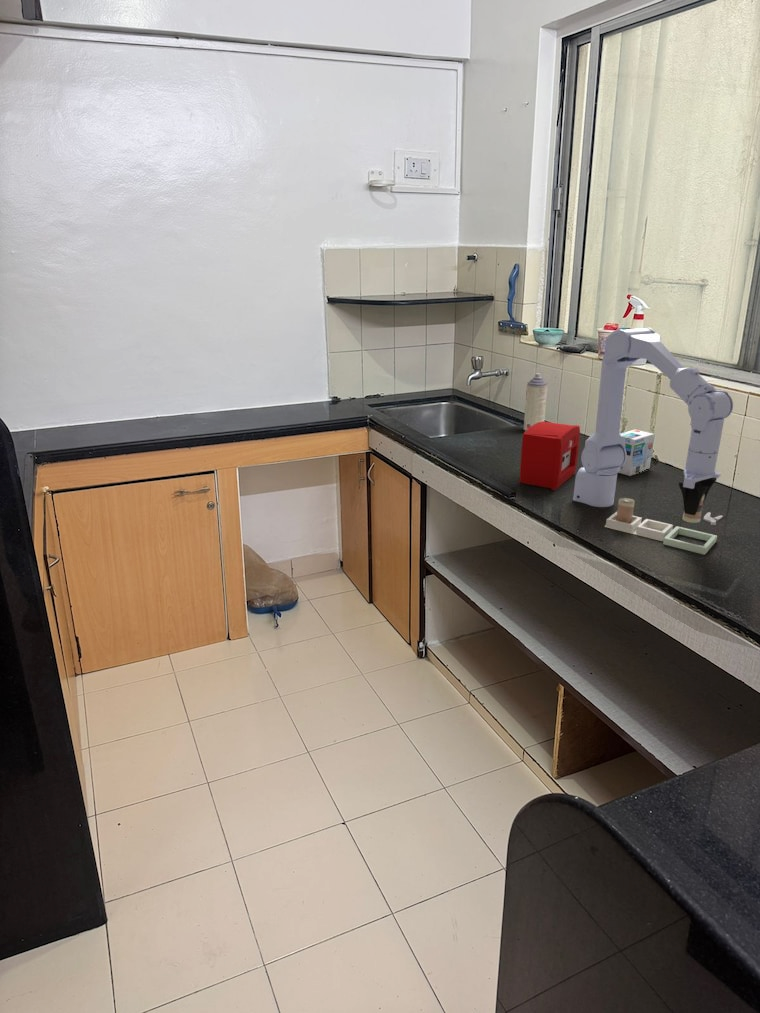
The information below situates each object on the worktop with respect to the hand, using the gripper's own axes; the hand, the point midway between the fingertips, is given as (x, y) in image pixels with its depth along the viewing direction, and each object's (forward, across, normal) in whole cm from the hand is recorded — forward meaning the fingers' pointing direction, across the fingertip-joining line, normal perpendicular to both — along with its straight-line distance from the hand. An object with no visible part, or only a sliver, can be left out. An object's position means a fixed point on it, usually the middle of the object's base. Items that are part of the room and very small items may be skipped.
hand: (692, 511), depth 149 cm
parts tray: (+8, 0, 0) cm, 8 cm away
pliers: (+9, +13, 0) cm, 16 cm away
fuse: (+7, +1, +14) cm, 16 cm away
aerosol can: (+8, +67, +71) cm, 98 cm away
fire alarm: (+8, +23, +44) cm, 50 cm away
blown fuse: (+2, 0, 0) cm, 2 cm away
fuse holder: (+8, +1, +11) cm, 14 cm away
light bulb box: (+8, +45, +29) cm, 54 cm away
